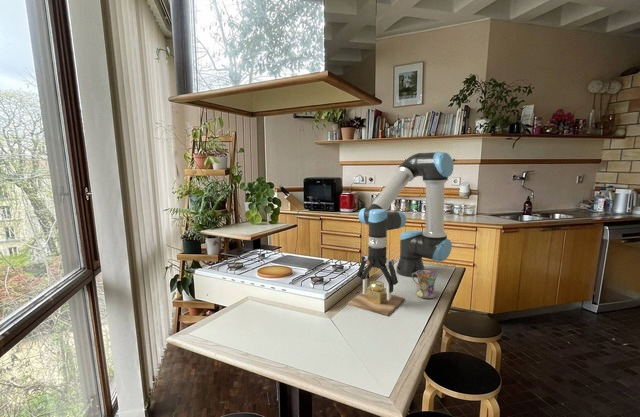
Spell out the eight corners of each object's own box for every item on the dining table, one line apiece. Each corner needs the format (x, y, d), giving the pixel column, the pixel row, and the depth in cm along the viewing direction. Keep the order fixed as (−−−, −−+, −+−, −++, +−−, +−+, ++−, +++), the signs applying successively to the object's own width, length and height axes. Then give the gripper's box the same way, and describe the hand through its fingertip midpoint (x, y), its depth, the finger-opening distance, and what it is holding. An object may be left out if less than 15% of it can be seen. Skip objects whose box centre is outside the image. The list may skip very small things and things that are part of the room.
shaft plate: (367, 290, 145) (367, 280, 145) (404, 299, 135) (404, 289, 134) (347, 304, 131) (348, 293, 130) (387, 316, 120) (387, 304, 120)
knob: (367, 300, 132) (367, 283, 131) (373, 296, 137) (373, 278, 136) (380, 304, 128) (380, 286, 127) (386, 299, 133) (386, 281, 132)
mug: (440, 296, 138) (441, 273, 137) (429, 302, 132) (430, 278, 131) (417, 288, 147) (417, 267, 146) (405, 293, 141) (406, 271, 140)
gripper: (349, 244, 133) (349, 292, 136) (400, 252, 120) (399, 305, 123) (357, 240, 139) (357, 287, 142) (407, 248, 126) (405, 299, 129)
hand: (376, 295), depth 132 cm, fingers open, 10 cm apart
